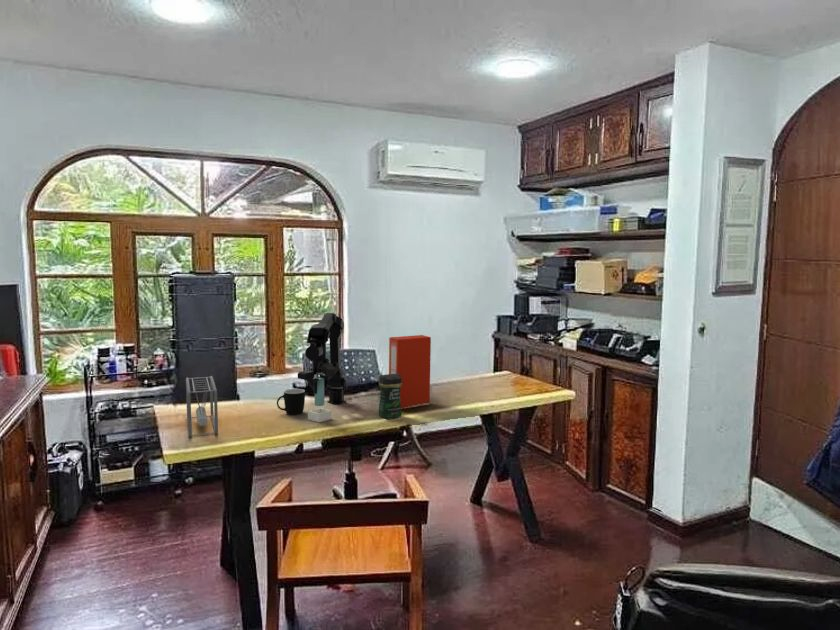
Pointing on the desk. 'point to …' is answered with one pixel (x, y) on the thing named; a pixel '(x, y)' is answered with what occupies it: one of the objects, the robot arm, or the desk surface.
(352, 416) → the coaster
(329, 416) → the white square tray
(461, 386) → the desk surface
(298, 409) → the mug
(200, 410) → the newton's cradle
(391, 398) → the coffee jar
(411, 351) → the file binder
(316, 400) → the dowel
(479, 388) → the desk surface
